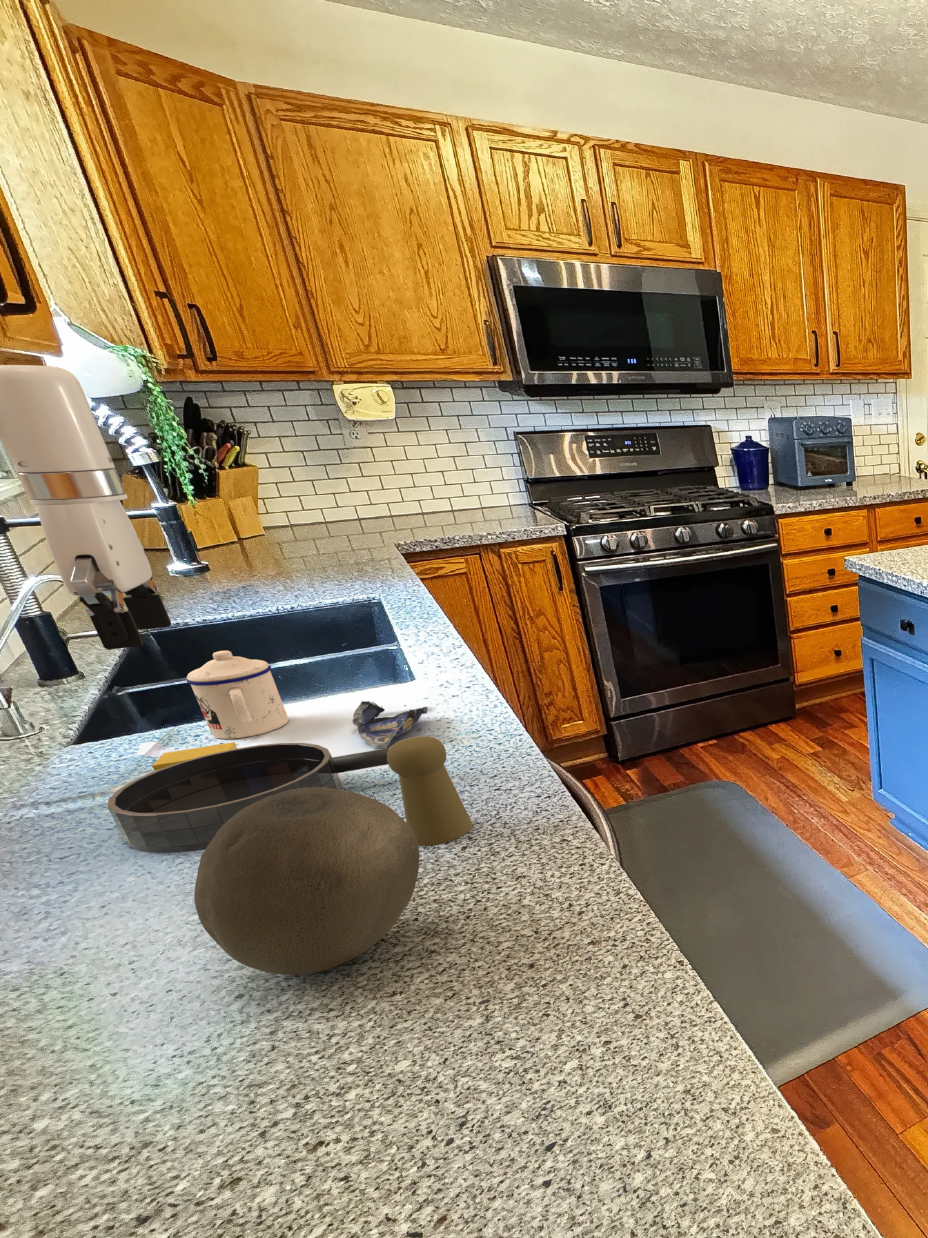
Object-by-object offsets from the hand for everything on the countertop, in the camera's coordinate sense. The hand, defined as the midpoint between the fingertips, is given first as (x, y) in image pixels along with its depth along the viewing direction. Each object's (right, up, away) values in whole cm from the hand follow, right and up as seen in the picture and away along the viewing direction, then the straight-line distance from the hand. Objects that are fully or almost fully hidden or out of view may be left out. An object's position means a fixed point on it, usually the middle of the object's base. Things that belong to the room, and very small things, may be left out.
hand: (140, 637), depth 96 cm
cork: (+41, -23, -7) cm, 47 cm away
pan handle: (+27, -15, +4) cm, 31 cm away
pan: (+14, -21, -2) cm, 25 cm away
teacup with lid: (-6, -11, +21) cm, 25 cm away
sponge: (0, -17, +7) cm, 18 cm away
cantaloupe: (+46, -31, -26) cm, 61 cm away
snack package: (+16, -12, +19) cm, 28 cm away
